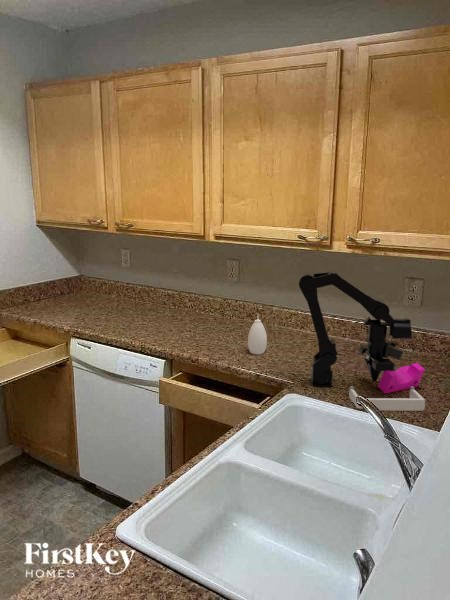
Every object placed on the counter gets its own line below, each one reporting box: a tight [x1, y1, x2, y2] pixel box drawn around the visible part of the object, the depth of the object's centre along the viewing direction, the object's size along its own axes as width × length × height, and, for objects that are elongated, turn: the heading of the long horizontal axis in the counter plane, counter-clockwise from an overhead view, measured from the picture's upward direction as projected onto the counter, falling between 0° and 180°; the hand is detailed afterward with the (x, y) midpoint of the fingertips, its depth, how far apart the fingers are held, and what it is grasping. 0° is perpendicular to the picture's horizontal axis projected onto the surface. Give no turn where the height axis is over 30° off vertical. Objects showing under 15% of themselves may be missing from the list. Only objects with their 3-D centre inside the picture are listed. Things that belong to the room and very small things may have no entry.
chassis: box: [348, 385, 426, 412], centre depth 147 cm, size 21×9×4 cm, turn 90°
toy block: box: [377, 362, 426, 394], centre depth 160 cm, size 15×6×8 cm, turn 116°
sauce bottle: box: [247, 315, 268, 356], centre depth 191 cm, size 8×8×18 cm
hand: (374, 381), depth 160 cm, fingers closed
